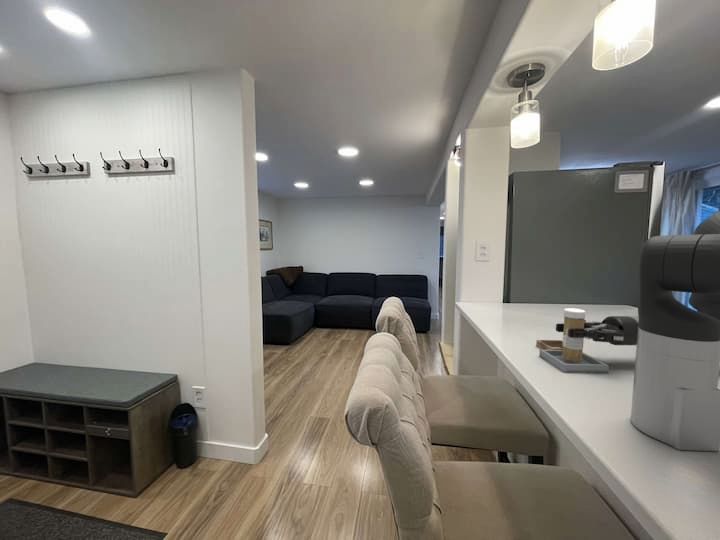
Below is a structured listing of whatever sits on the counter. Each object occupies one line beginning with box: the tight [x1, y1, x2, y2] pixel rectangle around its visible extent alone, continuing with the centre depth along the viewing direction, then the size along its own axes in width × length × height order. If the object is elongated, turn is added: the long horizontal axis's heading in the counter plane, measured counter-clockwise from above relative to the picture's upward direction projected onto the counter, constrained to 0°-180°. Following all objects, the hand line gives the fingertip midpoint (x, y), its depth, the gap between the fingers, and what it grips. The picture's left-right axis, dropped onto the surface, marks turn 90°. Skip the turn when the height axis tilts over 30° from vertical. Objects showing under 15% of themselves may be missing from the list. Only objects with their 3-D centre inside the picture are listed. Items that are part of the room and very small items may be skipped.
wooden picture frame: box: [535, 339, 563, 350], centre depth 85 cm, size 8×8×2 cm
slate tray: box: [539, 349, 610, 374], centre depth 76 cm, size 11×11×2 cm
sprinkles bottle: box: [562, 307, 586, 362], centre depth 75 cm, size 5×5×13 cm
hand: (562, 330), depth 75 cm, fingers closed on sprinkles bottle, 4 cm apart
